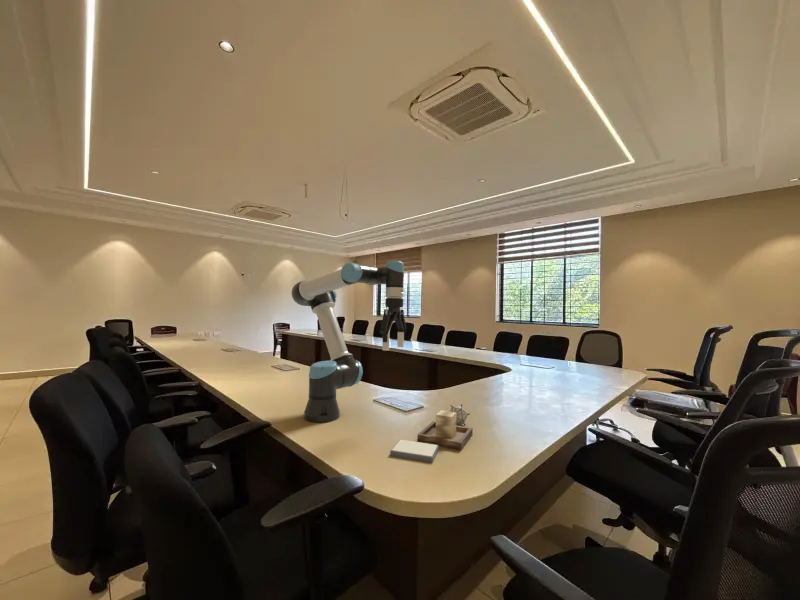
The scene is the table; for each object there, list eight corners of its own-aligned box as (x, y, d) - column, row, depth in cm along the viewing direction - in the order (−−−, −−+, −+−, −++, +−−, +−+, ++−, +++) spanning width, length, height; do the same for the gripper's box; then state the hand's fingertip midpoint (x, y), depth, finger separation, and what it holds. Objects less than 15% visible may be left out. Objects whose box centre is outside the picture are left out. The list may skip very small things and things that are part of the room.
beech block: (435, 436, 122) (435, 414, 123) (440, 431, 128) (441, 410, 128) (451, 439, 120) (451, 417, 120) (456, 434, 125) (456, 412, 125)
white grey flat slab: (390, 455, 108) (390, 450, 108) (399, 443, 118) (399, 438, 118) (432, 462, 104) (432, 456, 104) (438, 449, 113) (439, 444, 113)
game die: (461, 435, 137) (469, 420, 131) (442, 426, 138) (449, 411, 133) (466, 419, 144) (473, 404, 138) (447, 410, 145) (454, 395, 140)
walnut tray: (417, 441, 120) (417, 434, 120) (432, 427, 134) (433, 421, 134) (461, 450, 113) (461, 442, 113) (472, 434, 127) (472, 428, 127)
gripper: (388, 296, 128) (387, 352, 127) (414, 299, 150) (413, 346, 150) (371, 296, 131) (370, 351, 130) (399, 298, 153) (398, 345, 153)
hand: (393, 348), depth 140 cm, fingers open, 13 cm apart
